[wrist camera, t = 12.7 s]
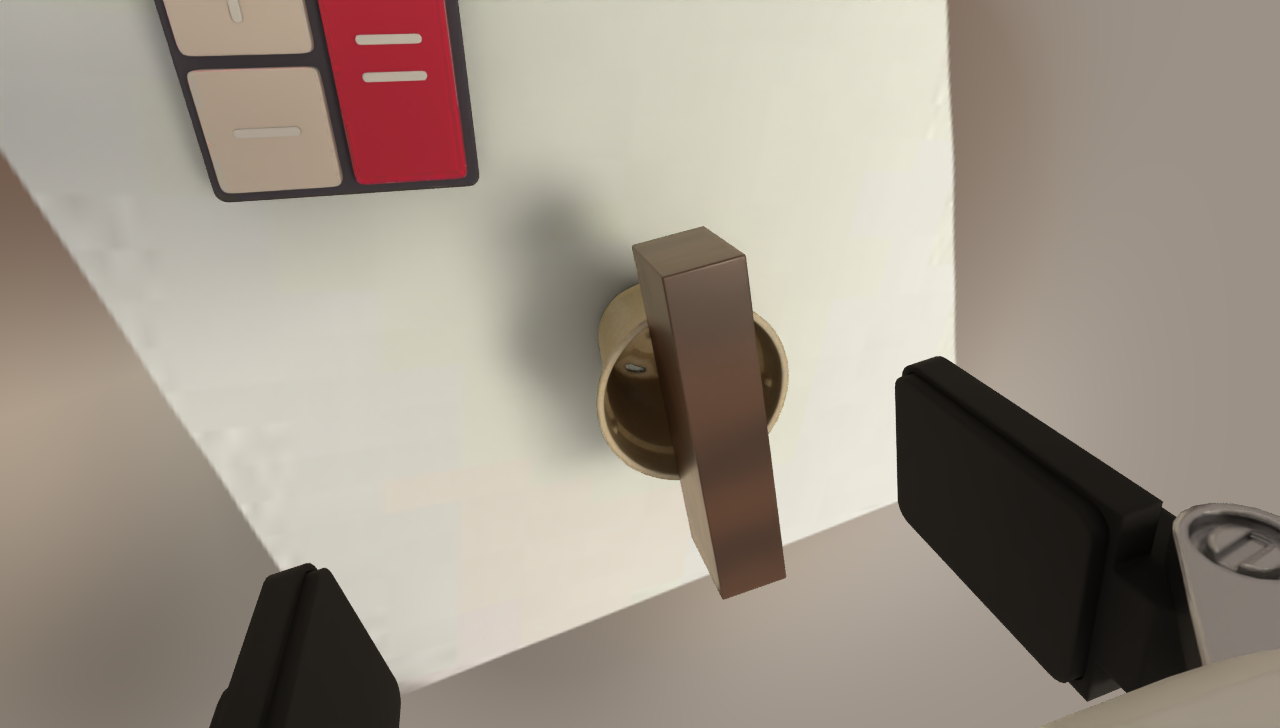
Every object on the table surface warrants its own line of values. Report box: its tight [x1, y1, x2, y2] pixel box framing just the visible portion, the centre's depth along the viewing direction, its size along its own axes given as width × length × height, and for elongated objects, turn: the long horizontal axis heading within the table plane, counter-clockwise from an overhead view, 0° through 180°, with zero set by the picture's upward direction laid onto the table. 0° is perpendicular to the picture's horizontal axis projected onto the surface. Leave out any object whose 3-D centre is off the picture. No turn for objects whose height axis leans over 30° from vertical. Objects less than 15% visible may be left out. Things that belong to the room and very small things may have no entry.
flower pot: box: [597, 284, 789, 480], centre depth 35 cm, size 9×9×9 cm
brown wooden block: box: [632, 226, 786, 599], centre depth 29 cm, size 16×3×5 cm, turn 11°
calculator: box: [154, 0, 479, 202], centre depth 27 cm, size 11×4×15 cm
